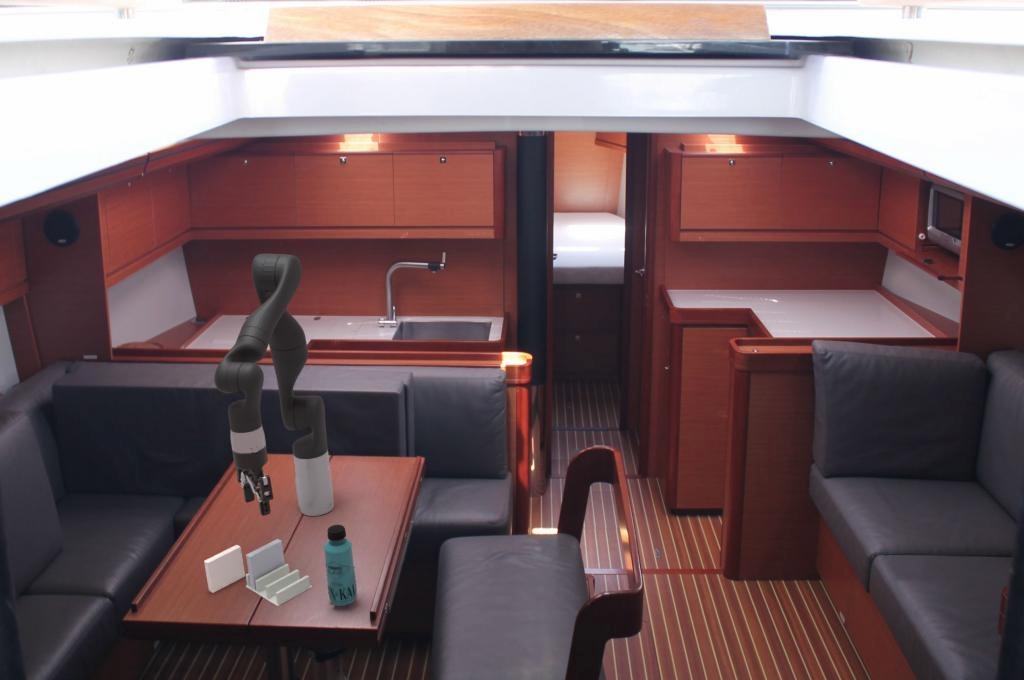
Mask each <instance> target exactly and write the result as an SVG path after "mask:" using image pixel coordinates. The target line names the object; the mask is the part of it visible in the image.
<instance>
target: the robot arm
mask: <svg viewBox="0 0 1024 680" xmlns="http://www.w3.org/2000/svg"><path fill="white" fill-rule="evenodd" d="M302 267H303V266H302V263H301V261H300V259H299V257H297V256H296V255H293V254H285V253H284V254H283V253H259V254H256V255H255V256H254V258H253V260H252V262H251V277H252V283H253V286H254V287H253V288H254V291H255V293H256V296H257V299H258V303H259V305H260V306H259V307H258V308H257V309H255V310H254V311H253V312H252V313H250V315H248V317H247V318H246V319H245V321H244V322H243V323H242V325H241V328H240V330H239V333H238V335H237V339H236V341H235V343H234V344H233V346H232V347H231V348H230V350H229V351H228V352H227V353H226V355H225V356H224V357H223V358H222V359H221V360H220V362H219V364H218V365H217V367H216V369H215V372H214V379H213V380H214V385H215V387H216V389H217V390H218V391H219V392H220V393H221V392H222V393H223V394H224V393H225V394H240V395H244V398H242V399H239V400H236V401H233V402H232V403H230V404H229V405H228V409H227V415H228V421H229V428H230V444H231V450H232V456H233V457H232V458H233V464H234V467H235V470H236V478H237V482H238V483H239V484H240V486H241V488H242V491H243V496H244V497H243V499H244V502H246V503H251V502H253V501H255V495H256V497H257V500H258V507H259V513H260V515H261V516H262V517H265V516H267V515H270V514H271V505H270V501H271V500H274V493H273V487H272V481H271V476H270V475H269V474H268V475H266V473H265V471H264V469H263V467H264V466H265V465H267V463H268V461H269V460H268V459H269V458H268V451H267V442H266V435H265V431H264V427H263V422H262V414H261V399H262V392H263V386H264V382H265V381H264V380H265V375H264V371H263V370H262V368H261V366H260V365H259V364H257V363H258V362H260V361H262V360H263V359H264V357H265V356H266V353H267V350H268V347H269V350H270V351H269V352H270V355H271V356H270V357H271V360H272V364H273V369H274V373H275V376H276V377H275V378H276V383H277V387H278V388H277V389H278V397H279V404H280V412H281V418H282V422H283V426H284V427H285V429H287V430H288V431H291V432H292V431H294V432H296V431H311V433H308V434H307V435H303V436H302V437H299V438H298V439H296V440H295V441H294V442H293V444H292V456H293V462H294V469H295V476H294V483H295V491H296V499H297V506H298V508H299V509H300V512H301V513H302V514H303V515H305V516H308V517H317V516H322V515H326V514H328V513H330V512H331V511H333V509H334V508H335V501H334V491H333V483H332V482H333V481H332V475H331V473H332V472H331V466H330V457H329V450H328V449H329V447H328V438H327V436H328V435H327V427H326V426H327V425H326V409H325V403H324V399H323V398H322V397H321V396H320V395H316V394H315V395H312V394H311V395H295V394H294V386H295V385H296V383H297V380H298V378H299V376H300V374H301V372H302V371H303V369H304V367H305V365H306V363H307V360H308V358H309V349H308V343H307V339H306V334H305V331H304V329H303V328H302V326H301V325H300V324H301V323H299V322H298V320H297V319H296V318H295V317H294V316H293V315H292V314H291V313H290V312H289V311H288V310H287V308H288V306H289V305H290V303H291V301H292V299H293V297H294V296H295V294H296V292H297V291H298V289H299V286H300V283H301V282H302V276H303V268H302Z"/></svg>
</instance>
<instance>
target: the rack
mask: <svg viewBox="0 0 1024 680" xmlns="http://www.w3.org/2000/svg"><path fill="white" fill-rule="evenodd" d="M245 580H246V585H245V587H246V588H247V589H248V590H250V591H251V592H254V593H256V594H257V595H259V596H260V597H261V598H263V599H265V600H267V601H269V602H270V603H271V604H273V605H275V606H276V607H279V606H280V605H282V604H284V603H286V602H288V601H289V600H291V599H293V598H294V597H297V596H299V595H301V594H302V593H304V592H306V591H307V590H309V589H311V588H312V587H313V585H311V580H310V576H309V575H308V574H306V575H305V576H303V577H300V570H298V569H295V570H293V571H290V564H288V563H285V565H283V566H281V567H279V568H277V569H276V570H274V571H272V572H270V573H268V574H266V575H264V576H262V577H261V578H259V579H257V580H255V582H256V590H254V589H252V588H251V584H250V578H249V572H248V573H245Z"/></svg>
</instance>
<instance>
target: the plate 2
mask: <svg viewBox="0 0 1024 680" xmlns="http://www.w3.org/2000/svg"><path fill="white" fill-rule="evenodd" d="M245 556H246V563H247V569H248V570H247V571H248V573H249V578H250V584H251V588H252V589H254V590H256V582H255V580H257V579H259V578H261V577H262V576H264V575H266V574H268V573H270V572H272V571H274V570H276V569H277V568H279V567H281V566H283V565H285V564H286V563H285V561H286V560H285V554H284V547H283V541H282V540H281V539H279V538H276V539H275V540H273V541H270V542H269V543H267V544H264V545H263V546H261V547H259V548H257V549H254V550H253V551H251V552H249V553H247V554H245Z"/></svg>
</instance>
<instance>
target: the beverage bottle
mask: <svg viewBox="0 0 1024 680" xmlns="http://www.w3.org/2000/svg"><path fill="white" fill-rule="evenodd" d="M346 532H347V531H346V528H345V526H344V525H341V524H334V525H331V526H329V527H328V528H327V539H328V540H327V541H326V543H324V545H323V550H324V558H325V568H326V569H325V572H326V580H327V590H328V596H329V601H330V602H331V604H333V605H335V606H341V607H342V606H347V605H350V604H352V603H353V602H354V601H355V600H356V599H357V596H358V590H357V579H356V573H355V572H356V571H355V565H354V555H353V547H352V546H353V544H352V541H351V540H350V539H348V538H346V537H347V533H346Z"/></svg>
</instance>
